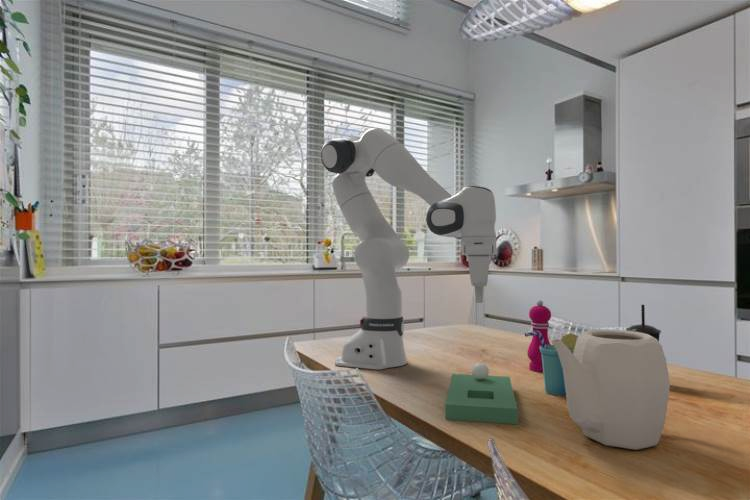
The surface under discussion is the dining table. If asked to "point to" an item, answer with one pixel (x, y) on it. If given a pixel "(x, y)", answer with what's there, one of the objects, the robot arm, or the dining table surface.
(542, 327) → the pepper mill
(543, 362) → the cup
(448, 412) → the putting mat
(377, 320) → the robot arm
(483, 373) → the ball
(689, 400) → the dining table surface
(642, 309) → the drinking cup
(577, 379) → the watering can
